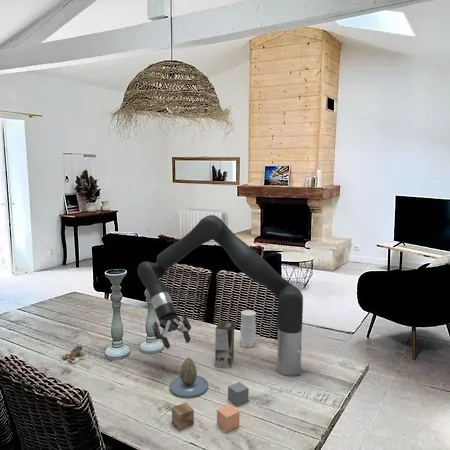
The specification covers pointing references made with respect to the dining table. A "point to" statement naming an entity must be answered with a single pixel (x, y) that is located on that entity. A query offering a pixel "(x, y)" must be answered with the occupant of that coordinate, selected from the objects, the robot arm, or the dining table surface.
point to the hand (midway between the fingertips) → (178, 344)
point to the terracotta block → (228, 418)
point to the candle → (248, 328)
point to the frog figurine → (73, 356)
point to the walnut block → (182, 415)
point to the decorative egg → (188, 372)
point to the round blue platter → (188, 387)
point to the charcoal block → (238, 393)
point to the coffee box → (224, 344)
